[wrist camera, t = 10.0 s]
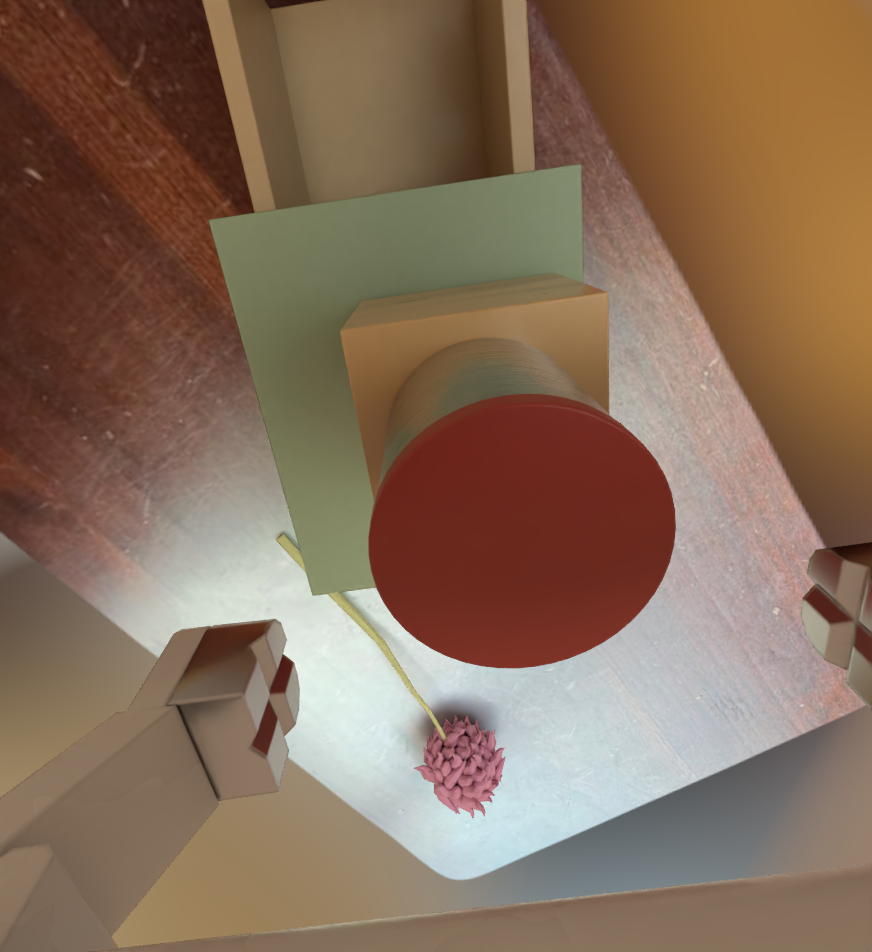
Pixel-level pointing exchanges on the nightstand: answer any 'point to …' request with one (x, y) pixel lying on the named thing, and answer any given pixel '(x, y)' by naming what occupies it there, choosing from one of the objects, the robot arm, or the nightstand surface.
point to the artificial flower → (441, 736)
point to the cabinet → (335, 299)
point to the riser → (465, 318)
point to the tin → (513, 510)
